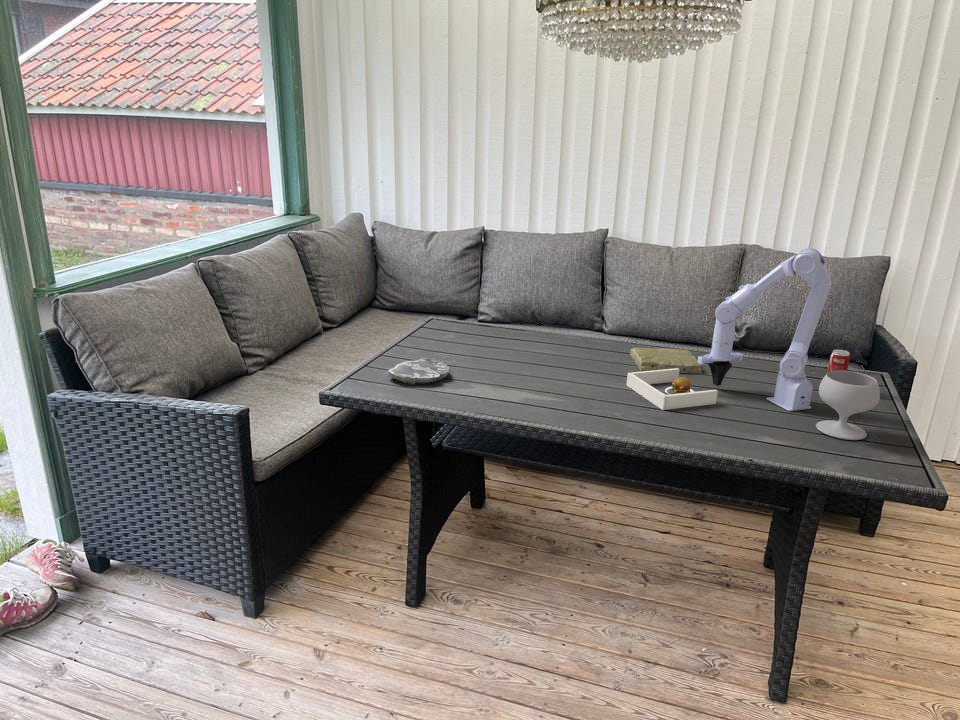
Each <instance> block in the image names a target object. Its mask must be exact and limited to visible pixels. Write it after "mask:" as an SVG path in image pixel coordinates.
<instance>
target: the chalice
mask: <svg viewBox="0 0 960 720" xmlns="http://www.w3.org/2000/svg"><path fill="white" fill-rule="evenodd" d="M827 372H828V371H827ZM880 390H881V389H880V386H879V382H878V380H877V379H876V378H874V377H873V376H870V375H867V374H865V373H862V372H858V371H857V372H856V371H850V370H847V371H843V370H837V371H830V372H828V373H826V374H825V375H824V377H823V378H822V379H821V381H820V384H819V387H818V395H819V397H820V399H821V400H822V401H823V402H824V403H825V404H826V405H828V406H829V407H830V408H832V409H833V410H835V411H836V412H837V414H838V415H839V416H838V417H839V418H838V420H835V419H834V420H831V419H828V420H821V421H818V422H817V423H815V428H816V429H817V430H818V431H819V432H821V433H822V434H825V435H827V436H830V437H833V438H837V439H841V440H849V441H857V440H858V441H859V440H864V439H866V438H867V437H868V433H867V432H866V431H865V430H864V429H863V428H861V427H859V426H857V425H856V424H853V423H849V422H848V419H849V417H851V416H853V415H854V414H860V413H864V412H868V411H870V410H872V409H874V408H875V407H877V405H878V403H879V402H880V398H881V391H880Z"/></svg>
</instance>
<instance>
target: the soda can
mask: <svg viewBox="0 0 960 720" xmlns="http://www.w3.org/2000/svg"><path fill="white" fill-rule="evenodd" d="M850 360H851V356H850V351H848V350H844V349H833V350H832V352H831V354H830V357H829V362H828V368H827V373H828V372H830V371H837V370H843V371H849V364H850ZM827 373H826V374H827Z"/></svg>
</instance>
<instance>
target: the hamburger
mask: <svg viewBox="0 0 960 720" xmlns="http://www.w3.org/2000/svg"><path fill="white" fill-rule="evenodd" d="M691 388H692V385H691V380H690V379H689V378H688V377H685V376H679V377H678V378H676V379H674V381H673V382H671V386H669V387H666V388H665V389H664V392H665V393H666V394H667V395H671V393H670V392H668V391H670V390H671V391H672V393H673V394H680V393H689V392H696V391H695V390H693V389H691Z"/></svg>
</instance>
